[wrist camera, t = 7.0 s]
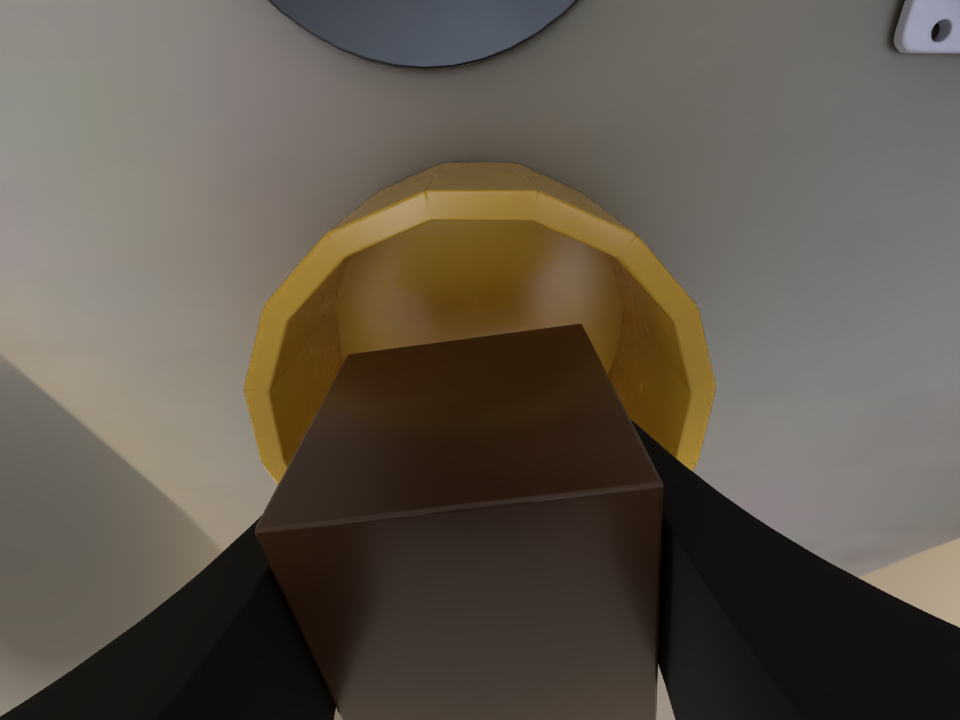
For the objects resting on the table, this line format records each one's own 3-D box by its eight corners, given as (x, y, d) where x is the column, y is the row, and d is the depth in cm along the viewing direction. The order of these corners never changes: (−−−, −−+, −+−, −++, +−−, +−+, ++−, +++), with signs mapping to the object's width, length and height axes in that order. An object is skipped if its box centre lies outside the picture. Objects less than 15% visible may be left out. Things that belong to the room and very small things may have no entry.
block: (582, 321, 10) (665, 483, 6) (592, 504, 12) (657, 724, 8) (346, 353, 10) (250, 530, 6) (397, 526, 13) (354, 751, 8)
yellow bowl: (659, 162, 15) (767, 191, 10) (614, 452, 20) (667, 585, 15) (299, 160, 15) (194, 188, 10) (342, 453, 20) (290, 586, 15)
